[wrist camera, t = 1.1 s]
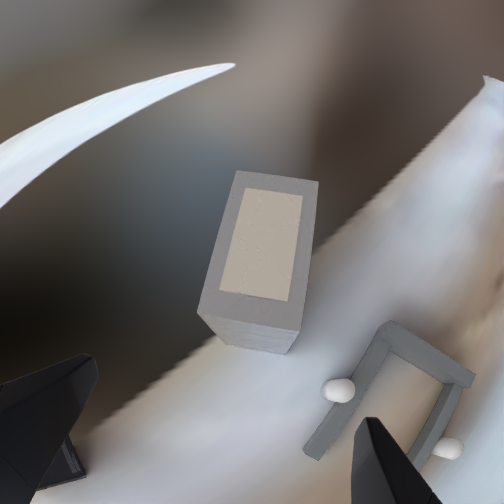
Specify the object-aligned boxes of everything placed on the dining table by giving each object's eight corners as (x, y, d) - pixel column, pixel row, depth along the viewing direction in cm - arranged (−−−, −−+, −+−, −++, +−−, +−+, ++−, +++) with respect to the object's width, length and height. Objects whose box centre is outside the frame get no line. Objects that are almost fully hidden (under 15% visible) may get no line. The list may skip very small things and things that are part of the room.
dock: (407, 497, 15) (426, 508, 12) (284, 439, 18) (288, 448, 15) (470, 383, 18) (494, 380, 15) (363, 317, 22) (378, 305, 19)
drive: (284, 355, 21) (300, 331, 12) (225, 344, 22) (196, 312, 13) (300, 258, 24) (318, 180, 15) (246, 249, 25) (236, 169, 16)
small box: (61, 410, 19) (-27, 404, 9) (90, 477, 16) (8, 502, 7) (1, 428, 17) (-73, 421, 8) (23, 485, 15) (-49, 494, 5)
